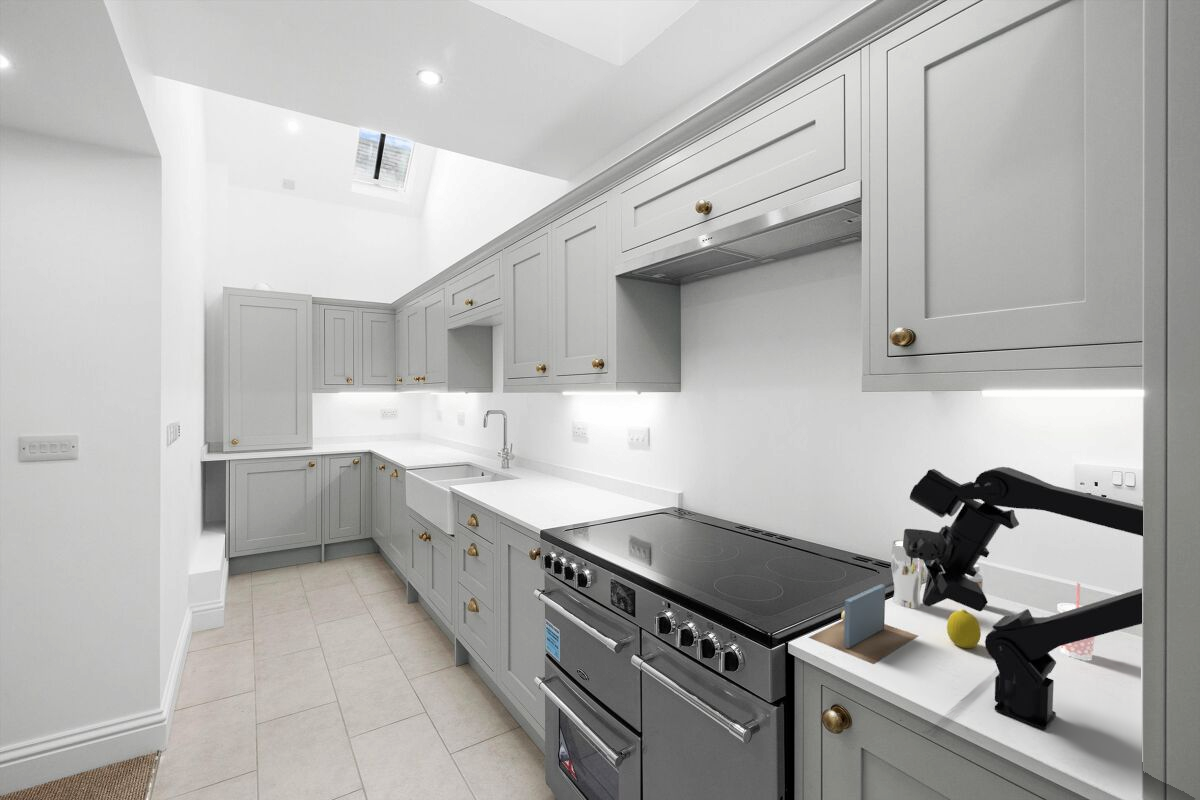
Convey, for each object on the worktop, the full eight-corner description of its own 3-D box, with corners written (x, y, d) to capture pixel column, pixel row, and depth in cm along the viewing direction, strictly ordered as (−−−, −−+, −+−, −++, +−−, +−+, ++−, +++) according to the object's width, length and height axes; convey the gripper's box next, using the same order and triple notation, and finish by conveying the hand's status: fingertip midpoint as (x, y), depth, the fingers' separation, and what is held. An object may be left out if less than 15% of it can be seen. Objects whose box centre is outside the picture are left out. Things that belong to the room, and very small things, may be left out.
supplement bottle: (949, 600, 132) (950, 560, 132) (969, 599, 133) (970, 560, 133) (966, 609, 127) (967, 568, 127) (987, 608, 128) (988, 567, 127)
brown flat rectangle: (918, 640, 111) (918, 635, 111) (873, 669, 99) (873, 663, 99) (855, 618, 121) (855, 613, 121) (808, 642, 110) (808, 637, 109)
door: (885, 627, 114) (886, 585, 113) (848, 648, 105) (850, 602, 104) (874, 624, 115) (875, 582, 115) (837, 643, 106) (839, 598, 106)
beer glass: (885, 600, 132) (886, 539, 131) (915, 602, 131) (917, 540, 130) (896, 612, 125) (898, 547, 124) (929, 614, 124) (931, 549, 123)
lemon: (985, 658, 104) (986, 617, 104) (953, 655, 105) (954, 614, 105) (971, 644, 109) (973, 605, 109) (941, 641, 110) (942, 603, 110)
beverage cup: (1057, 643, 110) (1059, 575, 110) (1098, 654, 106) (1100, 583, 105) (1053, 654, 106) (1056, 583, 105) (1096, 666, 101) (1099, 592, 101)
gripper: (908, 492, 102) (871, 558, 107) (935, 542, 85) (889, 617, 90) (970, 515, 100) (929, 581, 105) (1011, 571, 83) (959, 647, 88)
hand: (925, 604), depth 97 cm, fingers closed
